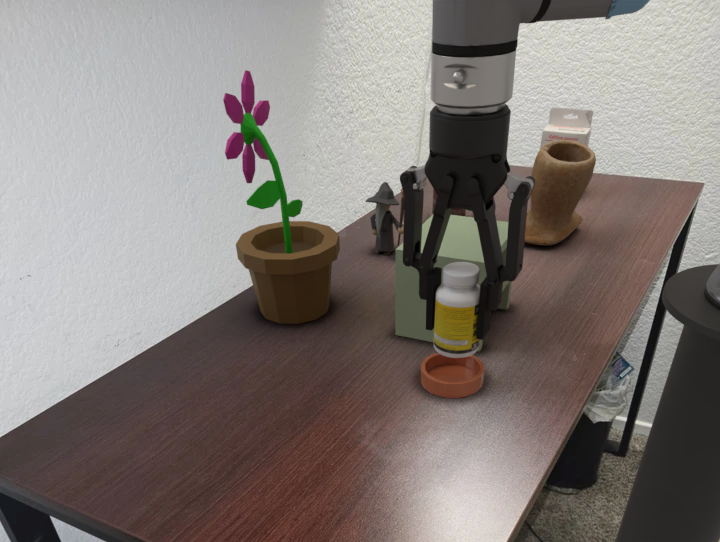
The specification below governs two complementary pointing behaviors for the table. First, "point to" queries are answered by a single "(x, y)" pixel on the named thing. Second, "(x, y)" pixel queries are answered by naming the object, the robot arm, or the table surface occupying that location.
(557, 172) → the stone cup
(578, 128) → the ink cartridge box
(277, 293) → the flowerpot
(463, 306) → the supplement bottle
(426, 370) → the holder
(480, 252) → the shelf
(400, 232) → the wizard figurine
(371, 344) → the table surface
